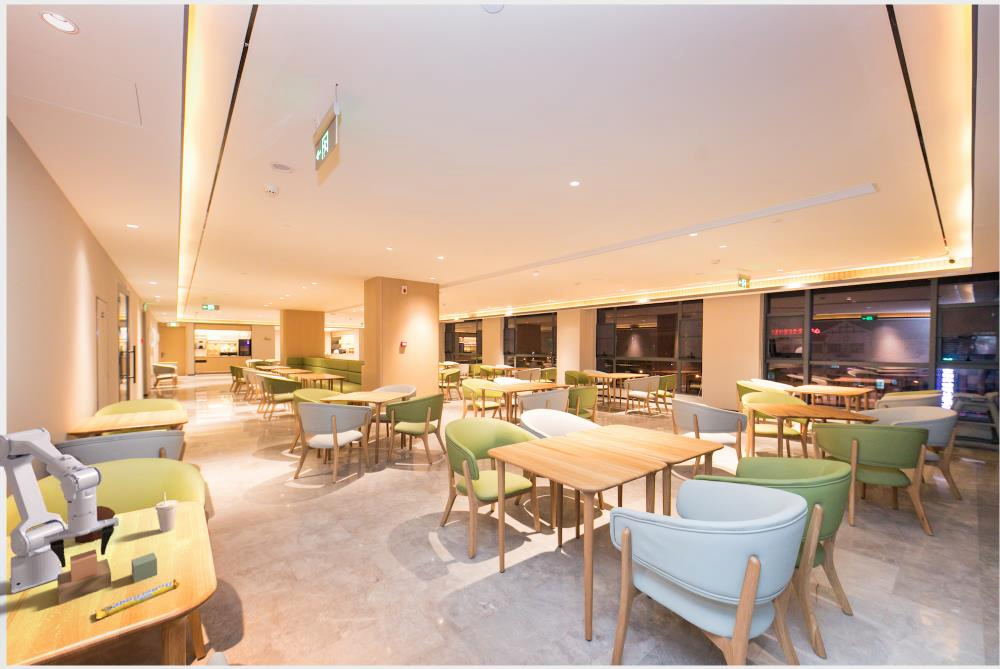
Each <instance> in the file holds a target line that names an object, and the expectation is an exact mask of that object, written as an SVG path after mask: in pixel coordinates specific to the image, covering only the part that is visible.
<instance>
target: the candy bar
mask: <svg viewBox="0 0 1000 669" xmlns="http://www.w3.org/2000/svg"><path fill="white" fill-rule="evenodd" d="M179 585H181V583H180V582H178V581H177V579H175V578H173V580H172V581H169V582H166V583H164V584H161V585H159V586H157V587H154V588H151V589H150V590H146V591H145V592H142V593H139V594H136V595H134V596H133V595H132V596H131V597H129V598H125V599H123V600H120V601H117V602H115V603H112V604H111V605H110V604H109V605H108V606H105V607H104V608H100V609H95V614H96V617H95V618H96V620H100V619H102V618H105V617H109V616H111V615H114V614H117V613H120V612H121V611H124V610H127V609H130V608H132V607H134V606H136V605H139V604H141V603H145V602H146V601H149V600H151V599H153V598H156V597H158V596H162V595H163V594H166V593H169V592H170V591H173V590H175V589H176V590H177V588H178V587H179Z"/></svg>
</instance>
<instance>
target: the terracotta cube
mask: <svg viewBox="0 0 1000 669" xmlns="http://www.w3.org/2000/svg"><path fill="white" fill-rule="evenodd" d="M69 559H70V560H69V561H70V571H71V580H72V581H75V580H78V579H81V578H84V577H87V576H90V575H93V574H96V573H98V571H97V562H98V554H97V549H96V548H95V549H91V550H88V551H85V552H82V553H78V554H75V555H71V556H70V558H69Z"/></svg>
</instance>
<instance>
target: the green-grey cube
mask: <svg viewBox="0 0 1000 669" xmlns="http://www.w3.org/2000/svg"><path fill="white" fill-rule="evenodd" d="M157 558H158V557H157V556H156V555H155V552H151V553H148V554H145V555H141V556H139V557H136V558H133V559H131V577H132V578H131V579H132V580H133V583H134V584H136V583H139V582H142V581H145V580H147V579H150V578H153V577H155V576H157V575H158V559H157Z"/></svg>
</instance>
